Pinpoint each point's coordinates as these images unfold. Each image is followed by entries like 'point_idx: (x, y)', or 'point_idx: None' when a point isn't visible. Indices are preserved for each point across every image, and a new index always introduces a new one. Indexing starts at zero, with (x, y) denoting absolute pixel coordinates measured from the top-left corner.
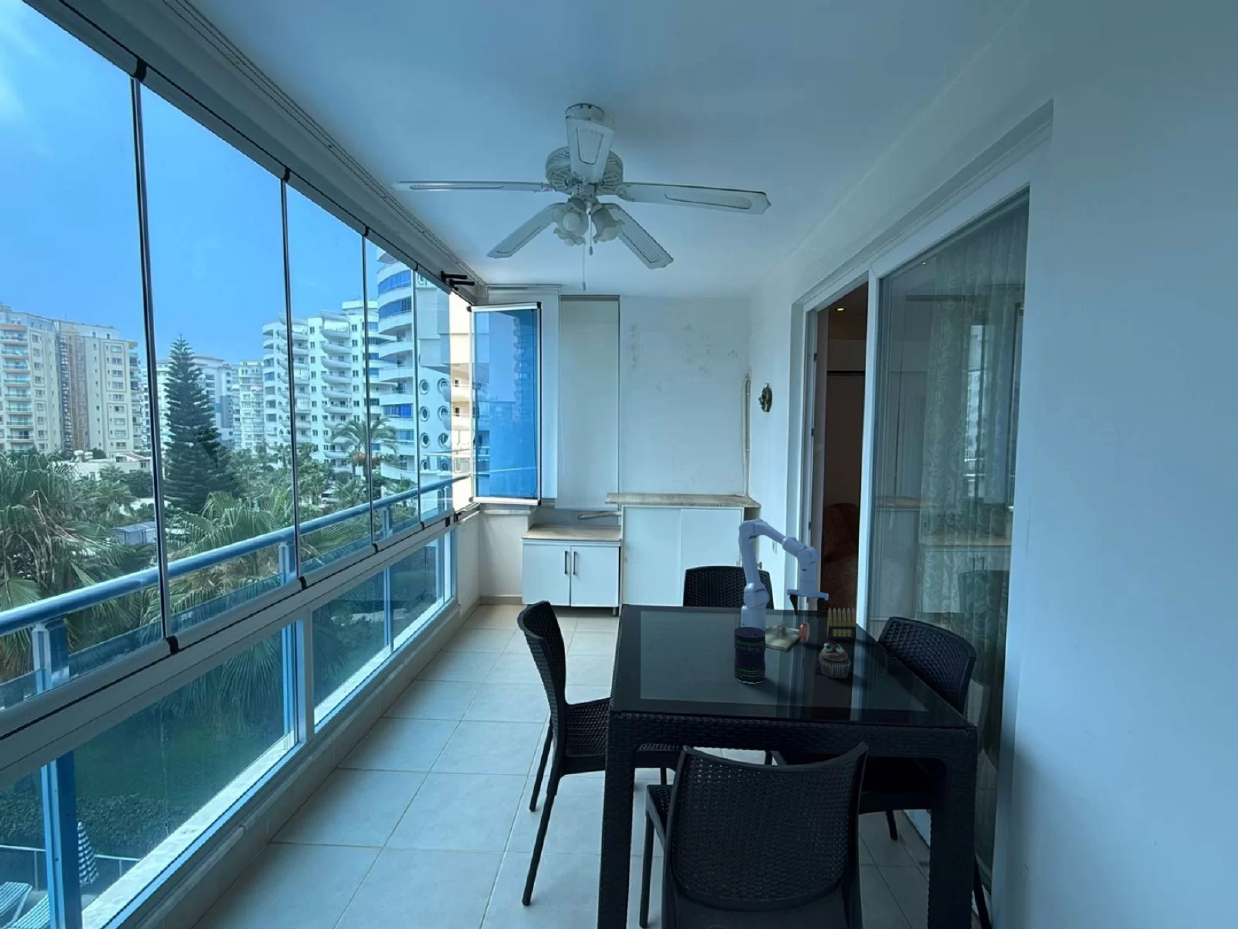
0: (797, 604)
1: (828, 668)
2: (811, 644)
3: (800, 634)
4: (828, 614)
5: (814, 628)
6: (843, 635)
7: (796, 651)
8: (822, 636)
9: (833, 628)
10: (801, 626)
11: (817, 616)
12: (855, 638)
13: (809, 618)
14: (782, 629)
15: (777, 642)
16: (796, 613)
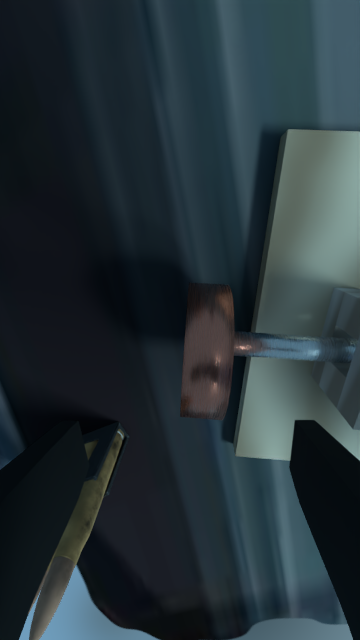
0: (357, 632)
1: None
2: (167, 328)
3: (218, 286)
4: (68, 566)
5: (198, 509)
6: None
7: (218, 173)
8: (147, 443)
9: None
10: (220, 327)
11: (53, 435)
12: None
13: (235, 584)
14: (356, 335)
15: (353, 209)
16: (311, 436)
